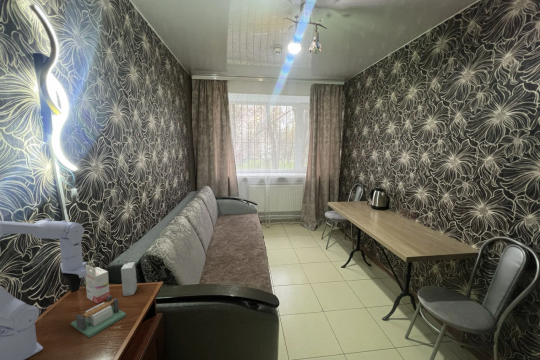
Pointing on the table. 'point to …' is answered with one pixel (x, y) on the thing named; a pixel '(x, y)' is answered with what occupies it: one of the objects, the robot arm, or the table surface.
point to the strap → (98, 309)
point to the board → (101, 325)
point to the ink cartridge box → (97, 284)
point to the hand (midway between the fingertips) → (74, 290)
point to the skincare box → (128, 278)
